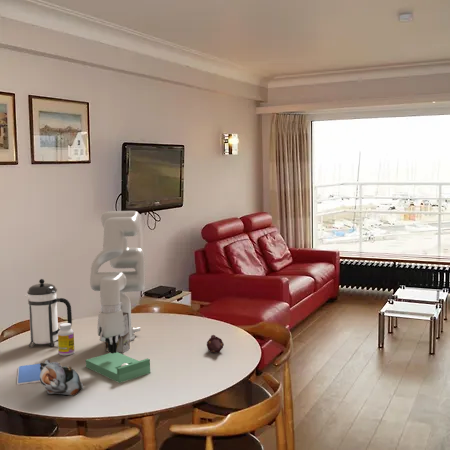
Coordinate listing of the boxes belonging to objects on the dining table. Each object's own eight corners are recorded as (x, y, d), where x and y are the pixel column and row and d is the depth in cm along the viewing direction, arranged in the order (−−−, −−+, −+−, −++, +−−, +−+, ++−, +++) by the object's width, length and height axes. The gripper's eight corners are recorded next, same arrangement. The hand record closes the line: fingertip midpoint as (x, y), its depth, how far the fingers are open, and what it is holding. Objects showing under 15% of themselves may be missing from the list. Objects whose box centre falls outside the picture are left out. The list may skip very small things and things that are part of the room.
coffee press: (36, 351, 245) (33, 284, 242) (22, 343, 257) (18, 279, 253) (73, 343, 256) (70, 278, 253) (58, 335, 268) (55, 273, 265)
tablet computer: (52, 382, 211) (52, 378, 211) (16, 386, 207) (16, 383, 207) (50, 365, 230) (50, 361, 230) (17, 369, 226) (17, 365, 226)
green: (115, 358, 235) (115, 345, 234) (150, 372, 218) (149, 359, 217) (85, 367, 225) (85, 354, 224) (119, 382, 208) (119, 368, 207)
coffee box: (130, 348, 248) (129, 312, 246) (123, 353, 242) (121, 316, 240) (112, 346, 251) (111, 311, 249) (104, 351, 244) (103, 314, 243)
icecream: (228, 341, 234) (221, 334, 249) (211, 338, 233) (205, 331, 247) (224, 358, 234) (218, 350, 249) (207, 355, 232) (202, 347, 247)
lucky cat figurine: (86, 394, 198) (71, 366, 191) (54, 412, 195) (37, 384, 188) (77, 369, 210) (62, 342, 203) (47, 385, 207) (30, 359, 200)
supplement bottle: (70, 356, 238) (68, 326, 237) (55, 355, 240) (54, 326, 238) (77, 351, 245) (76, 322, 243) (63, 350, 246) (61, 321, 245)
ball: (125, 362, 220) (130, 360, 217) (128, 372, 219) (134, 370, 216) (116, 366, 217) (121, 364, 214) (120, 376, 216) (125, 374, 214)
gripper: (121, 302, 229) (123, 345, 232) (89, 309, 219) (91, 355, 221) (131, 305, 224) (133, 349, 226) (99, 313, 214) (101, 359, 216)
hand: (112, 352), depth 224 cm, fingers closed
